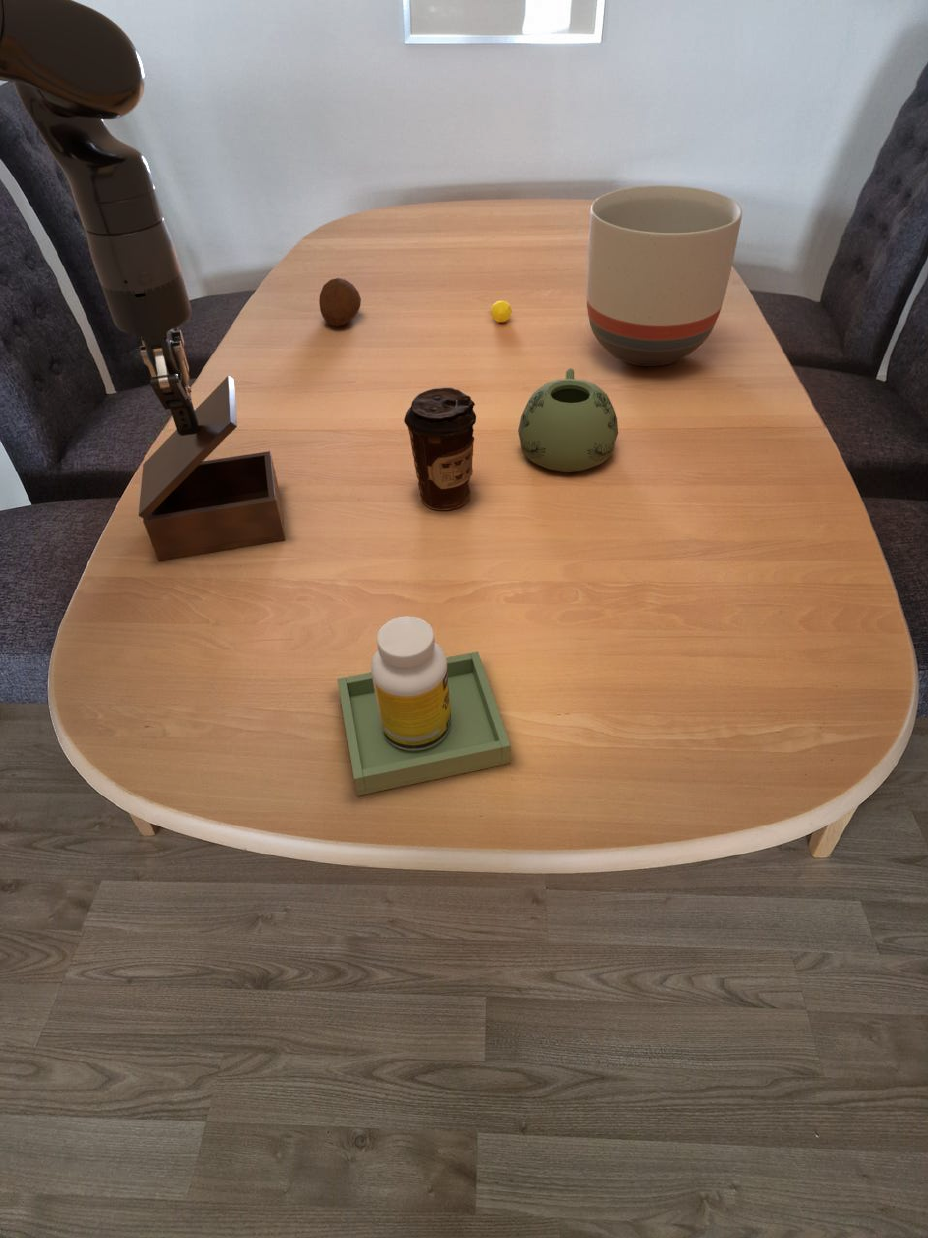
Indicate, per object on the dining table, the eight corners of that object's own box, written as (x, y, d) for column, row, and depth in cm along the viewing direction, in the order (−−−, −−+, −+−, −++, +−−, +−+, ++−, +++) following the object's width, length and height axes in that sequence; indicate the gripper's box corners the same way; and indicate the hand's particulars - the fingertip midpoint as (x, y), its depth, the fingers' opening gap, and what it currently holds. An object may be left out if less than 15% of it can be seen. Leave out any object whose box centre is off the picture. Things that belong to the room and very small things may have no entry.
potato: (362, 305, 143) (357, 264, 138) (364, 330, 135) (358, 288, 131) (322, 308, 142) (316, 267, 138) (322, 333, 135) (315, 292, 130)
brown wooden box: (279, 490, 103) (270, 450, 98) (285, 540, 95) (275, 499, 91) (161, 508, 100) (147, 469, 96) (158, 561, 93) (142, 521, 89)
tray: (357, 796, 69) (353, 778, 67) (341, 696, 77) (337, 678, 75) (510, 763, 71) (510, 745, 69) (478, 669, 79) (478, 651, 77)
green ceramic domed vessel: (617, 480, 101) (625, 419, 95) (515, 477, 103) (515, 416, 97) (613, 415, 113) (620, 356, 107) (521, 413, 114) (522, 355, 108)
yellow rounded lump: (495, 327, 134) (488, 305, 133) (493, 322, 140) (487, 301, 138) (515, 319, 134) (508, 298, 132) (512, 314, 139) (505, 294, 138)
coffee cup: (495, 494, 100) (494, 399, 91) (448, 526, 96) (443, 429, 87) (444, 469, 105) (439, 376, 96) (398, 498, 100) (387, 403, 91)
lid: (234, 379, 91) (228, 374, 91) (237, 426, 84) (230, 421, 83) (149, 468, 96) (143, 463, 96) (144, 519, 89) (138, 515, 88)
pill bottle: (450, 754, 71) (443, 664, 63) (377, 754, 71) (361, 665, 63) (452, 697, 76) (446, 607, 68) (384, 698, 76) (369, 609, 68)
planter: (696, 324, 133) (720, 181, 118) (729, 384, 118) (761, 230, 103) (572, 330, 133) (581, 188, 118) (590, 390, 118) (602, 237, 103)
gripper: (104, 252, 81) (156, 407, 93) (92, 304, 72) (152, 469, 84) (180, 243, 82) (222, 397, 94) (178, 293, 73) (225, 458, 85)
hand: (189, 431), depth 89 cm, fingers closed
